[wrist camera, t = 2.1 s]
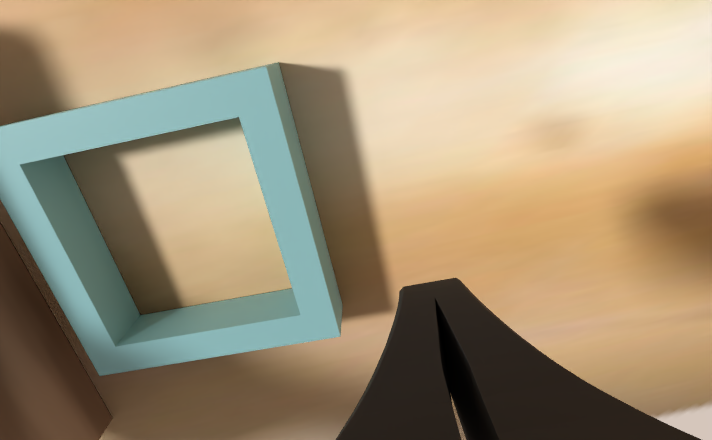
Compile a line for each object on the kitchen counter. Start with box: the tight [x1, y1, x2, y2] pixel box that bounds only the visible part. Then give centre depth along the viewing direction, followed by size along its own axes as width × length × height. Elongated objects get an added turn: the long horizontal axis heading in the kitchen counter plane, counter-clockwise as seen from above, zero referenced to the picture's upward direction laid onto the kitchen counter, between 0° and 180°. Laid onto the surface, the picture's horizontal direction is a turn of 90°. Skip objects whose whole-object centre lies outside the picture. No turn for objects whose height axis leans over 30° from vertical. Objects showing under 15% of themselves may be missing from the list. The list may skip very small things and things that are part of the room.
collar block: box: [0, 62, 343, 376], centre depth 19 cm, size 12×12×2 cm
